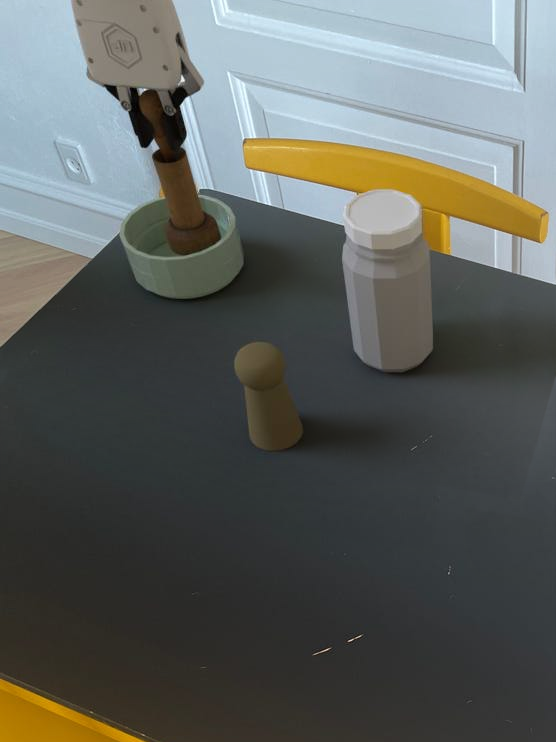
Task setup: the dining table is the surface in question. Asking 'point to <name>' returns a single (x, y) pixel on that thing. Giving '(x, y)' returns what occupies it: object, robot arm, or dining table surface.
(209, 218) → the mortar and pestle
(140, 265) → the bowl
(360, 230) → the jar
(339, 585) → the dining table surface
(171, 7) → the robot arm
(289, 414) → the board game pawn
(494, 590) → the dining table surface
